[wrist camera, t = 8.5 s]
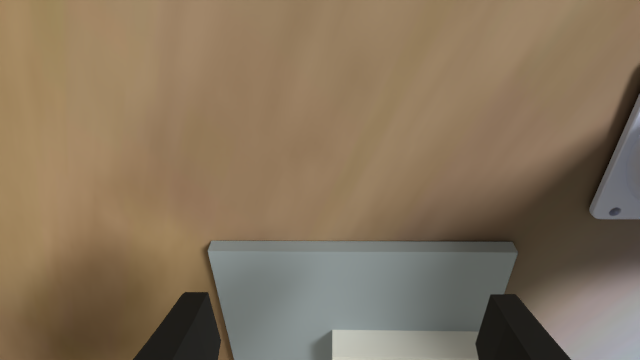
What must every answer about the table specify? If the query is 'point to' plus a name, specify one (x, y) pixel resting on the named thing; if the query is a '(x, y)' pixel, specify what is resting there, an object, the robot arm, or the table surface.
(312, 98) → the table surface
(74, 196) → the table surface
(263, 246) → the outlet plate
